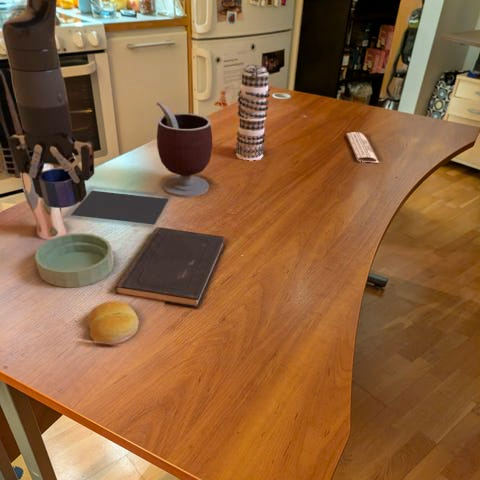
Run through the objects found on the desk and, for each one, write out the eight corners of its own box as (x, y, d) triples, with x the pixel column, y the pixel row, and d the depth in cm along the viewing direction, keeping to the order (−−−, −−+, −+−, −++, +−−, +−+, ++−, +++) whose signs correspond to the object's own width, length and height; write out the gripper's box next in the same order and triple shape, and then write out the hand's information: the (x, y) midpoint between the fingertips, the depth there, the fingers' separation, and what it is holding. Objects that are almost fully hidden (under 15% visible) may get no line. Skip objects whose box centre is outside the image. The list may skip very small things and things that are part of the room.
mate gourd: (221, 186, 126) (224, 108, 113) (189, 203, 117) (188, 121, 104) (178, 171, 132) (175, 96, 119) (144, 186, 123) (137, 107, 110)
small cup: (37, 205, 81) (31, 180, 78) (53, 190, 85) (48, 166, 82) (71, 209, 80) (67, 184, 77) (85, 194, 85) (81, 170, 82)
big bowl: (26, 284, 87) (21, 267, 85) (58, 246, 98) (54, 229, 96) (98, 293, 86) (95, 276, 84) (123, 254, 97) (121, 237, 95)
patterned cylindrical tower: (270, 156, 144) (279, 67, 128) (250, 163, 139) (257, 72, 123) (249, 148, 149) (254, 61, 133) (228, 154, 144) (232, 65, 128)
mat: (66, 220, 107) (66, 219, 106) (92, 191, 119) (92, 190, 119) (150, 230, 105) (150, 228, 105) (168, 200, 118) (168, 198, 117)
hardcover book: (224, 245, 102) (225, 236, 100) (198, 308, 85) (198, 298, 83) (155, 235, 104) (155, 226, 102) (115, 295, 86) (114, 285, 85)
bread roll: (93, 351, 75) (89, 333, 72) (87, 317, 81) (83, 299, 78) (144, 341, 77) (142, 323, 75) (134, 308, 84) (131, 291, 81)
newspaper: (346, 136, 163) (347, 131, 162) (366, 138, 163) (367, 132, 162) (356, 161, 145) (358, 156, 144) (379, 163, 145) (380, 157, 144)
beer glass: (35, 228, 103) (17, 163, 94) (67, 224, 105) (54, 160, 96) (36, 244, 98) (18, 176, 89) (70, 239, 100) (56, 173, 91)
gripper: (95, 96, 74) (108, 194, 85) (10, 87, 75) (33, 185, 86) (76, 110, 69) (92, 212, 79) (-16, 100, 69) (13, 202, 80)
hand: (61, 197), depth 83 cm, fingers closed on small cup, 6 cm apart
